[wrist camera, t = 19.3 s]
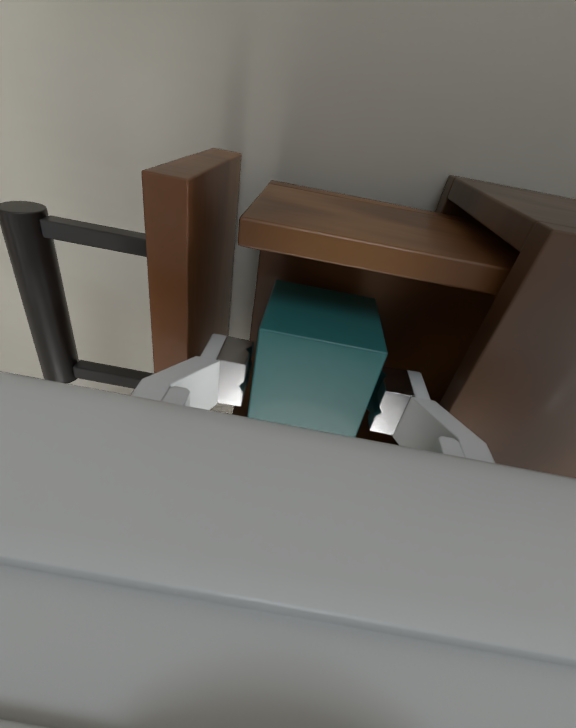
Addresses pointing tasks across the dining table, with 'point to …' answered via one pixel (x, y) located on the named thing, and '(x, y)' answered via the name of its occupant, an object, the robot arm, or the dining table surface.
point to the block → (316, 358)
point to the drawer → (267, 269)
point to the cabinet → (522, 331)
